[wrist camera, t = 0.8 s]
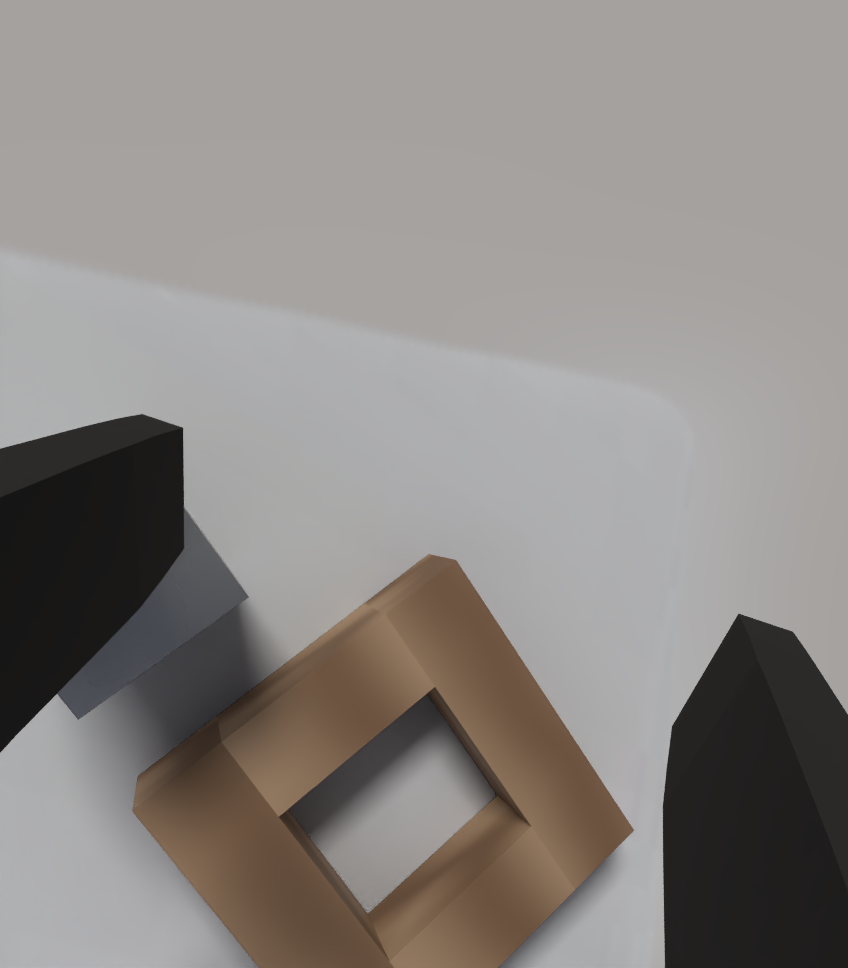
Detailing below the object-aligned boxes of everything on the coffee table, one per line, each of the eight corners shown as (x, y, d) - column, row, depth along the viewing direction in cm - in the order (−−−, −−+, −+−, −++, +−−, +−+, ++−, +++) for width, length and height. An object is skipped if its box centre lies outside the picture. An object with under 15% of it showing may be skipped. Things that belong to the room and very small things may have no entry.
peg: (110, 649, 21) (78, 719, 14) (24, 537, 20) (-53, 556, 13) (228, 567, 22) (248, 596, 15) (150, 459, 21) (135, 441, 15)
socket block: (347, 1037, 23) (366, 1100, 20) (137, 776, 21) (132, 811, 18) (592, 800, 26) (634, 830, 23) (428, 554, 24) (455, 559, 22)
